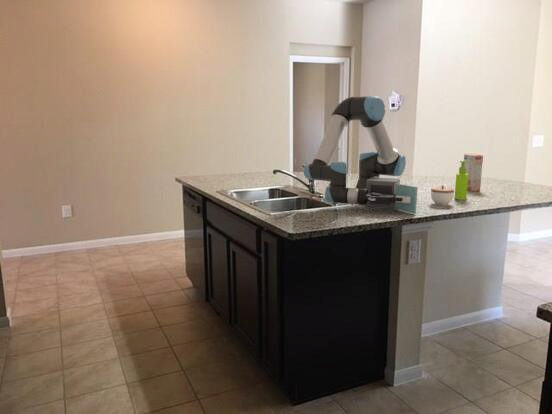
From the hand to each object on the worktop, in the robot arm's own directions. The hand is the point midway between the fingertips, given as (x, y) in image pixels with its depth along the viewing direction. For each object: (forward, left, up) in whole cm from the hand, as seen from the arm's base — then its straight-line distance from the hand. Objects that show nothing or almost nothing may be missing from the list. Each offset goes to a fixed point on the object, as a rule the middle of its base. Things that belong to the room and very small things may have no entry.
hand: (410, 199), depth 210 cm
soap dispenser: (+2, +55, -7) cm, 56 cm away
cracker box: (-6, +90, -7) cm, 91 cm away
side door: (-4, +3, -6) cm, 8 cm away
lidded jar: (+1, +32, -7) cm, 33 cm away
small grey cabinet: (-18, +10, -7) cm, 21 cm away
